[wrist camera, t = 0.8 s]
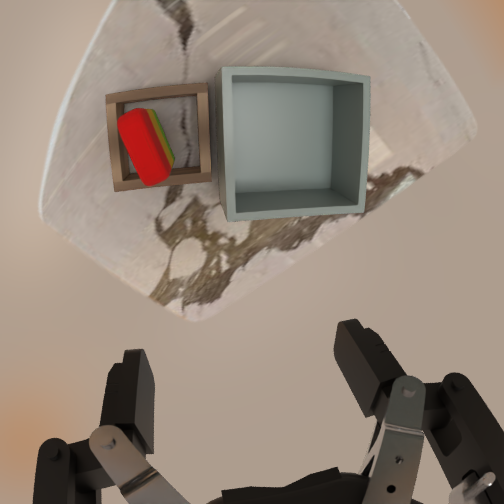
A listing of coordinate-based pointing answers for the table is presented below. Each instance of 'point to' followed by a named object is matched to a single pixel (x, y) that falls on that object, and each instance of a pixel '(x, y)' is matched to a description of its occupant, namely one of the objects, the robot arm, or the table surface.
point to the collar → (119, 151)
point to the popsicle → (146, 145)
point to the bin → (291, 141)
